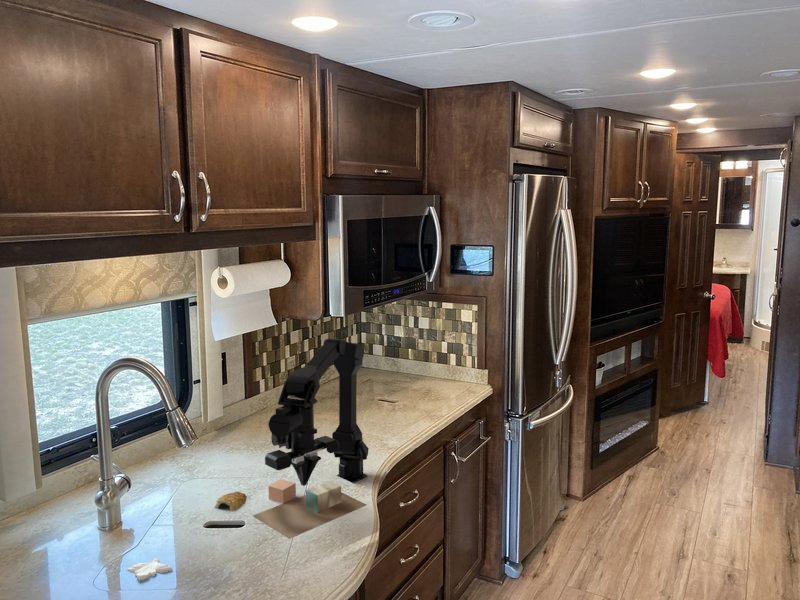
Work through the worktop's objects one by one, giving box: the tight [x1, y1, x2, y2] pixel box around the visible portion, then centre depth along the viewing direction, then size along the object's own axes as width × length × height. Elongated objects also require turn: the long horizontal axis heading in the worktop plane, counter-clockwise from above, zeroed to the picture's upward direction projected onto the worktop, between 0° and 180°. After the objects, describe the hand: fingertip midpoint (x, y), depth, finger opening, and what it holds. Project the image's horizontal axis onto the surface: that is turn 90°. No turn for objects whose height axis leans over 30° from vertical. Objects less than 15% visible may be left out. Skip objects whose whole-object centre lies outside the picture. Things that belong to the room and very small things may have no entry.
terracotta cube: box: [268, 478, 297, 504], centre depth 170 cm, size 5×5×5 cm
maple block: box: [305, 480, 342, 513], centre depth 165 cm, size 4×4×8 cm
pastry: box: [213, 491, 247, 511], centre depth 168 cm, size 9×7×4 cm
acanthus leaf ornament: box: [126, 557, 173, 581], centre depth 139 cm, size 8×7×2 cm
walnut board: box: [252, 491, 367, 539], centre depth 163 cm, size 24×16×1 cm, turn 134°
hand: (303, 485), depth 160 cm, fingers closed
